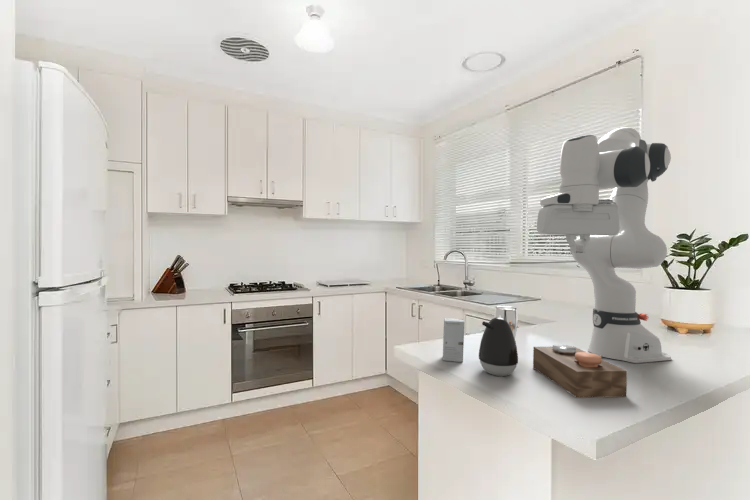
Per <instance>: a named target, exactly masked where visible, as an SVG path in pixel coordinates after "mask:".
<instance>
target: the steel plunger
mask: <svg viewBox="0 0 750 500" xmlns="http://www.w3.org/2000/svg"><path fill="white" fill-rule="evenodd" d="M552 347H553V351H554V352H556V353H559V354H564V355H575V353H576V348H577V347H576V348H574V347H575V346H574V347H572V345H567V344H566V345H565V344H553V345H552Z"/></svg>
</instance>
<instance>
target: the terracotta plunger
mask: <svg viewBox="0 0 750 500" xmlns="http://www.w3.org/2000/svg"><path fill="white" fill-rule="evenodd" d="M602 358H603V357H602V356H599V355H597V354H593V353H591V352H587V351H585V352H577V353H575V359H576V360H577V361H579V364H580V365H582V366H583V367H598V364H601V363H602V360H603V359H602Z"/></svg>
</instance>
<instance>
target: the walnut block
mask: <svg viewBox="0 0 750 500" xmlns="http://www.w3.org/2000/svg"><path fill="white" fill-rule="evenodd" d="M571 346H572V345H571ZM572 347H574V348H576V353H577V352H586V351H585V350H582V349H581V348H578V347H576V346H572ZM532 357H533V361H532V364H533V366H532V367H533V369H534V370H535V371H537V372H539V373H540V374H542V375H543V376H545V377H546V378H548V379H549V380H550V381H552V382H553V383H555V384H556V385H557V386H559V387H561V388H562V389H564V390H565V391H566V392H567V393H570V394H571V395H572V396H574V397H575V398H618V397H619V398H621V397H622V398H625V397H627V390H628V389H627V385H628V382H627V381H628V370H626V369H623V368H621V367H619V366H618V365H615V364H612V363H610V362H608V361H606V360H604V359H602V363H601V364H598V367H583V366H582V365H580V364H579V361H577V360H576V359H575V355H564V354H559V353H556V352H554V351H553V346H533V353H532Z"/></svg>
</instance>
